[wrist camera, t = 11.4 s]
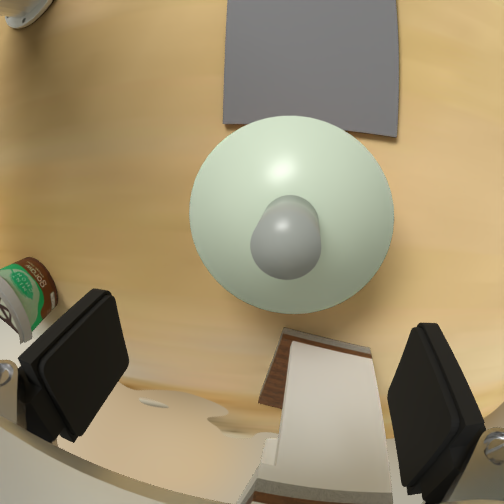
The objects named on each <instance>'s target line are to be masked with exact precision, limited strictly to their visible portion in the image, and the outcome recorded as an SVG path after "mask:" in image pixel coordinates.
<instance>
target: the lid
mask: <svg viewBox="0 0 504 504" xmlns="http://www.w3.org/2000/svg"><path fill="white" fill-rule="evenodd" d="M189 218H190V228H191V233H192V237H193V241H194V244H195V246H196V249H197V252H198V254H199V256H200V258H201V260H202V262H203V263H204V265H205V266H206V268H207V269H208V271H209V272H210V274H211V275H212V276H213V277H214V278H215V279H216V280H217V282H218V283H219V284H221V285H222V286H223V287H224V288H225V289H226V290H227V291H229V292H230V293H231V294H233V295H234V296H236V297H237V298H239V299H240V300H242V301H244V302H246V303H248V304H250V305H253V306H255V307H257V308H260V309H264V310H267V311H271V312H277V313H283V314H303V313H311V312H316V311H321V310H324V309H327V308H330V307H333V306H335V305H337V304H339V303H341V302H343V301H345V300H347V299H348V298H350V297H352V296H353V295H354V294H356V293H357V292H358V291H359V290H361V289H362V288H363V287H364V286H365V285H366V284H367V283H368V282H369V281H370V280H371V279H372V277H373V276H374V275H375V273H376V272H377V271H378V269H379V268H380V266H381V264H382V262H383V260H384V259H385V256H386V254H387V251H388V249H389V246H390V242H391V238H392V234H393V226H394V206H393V200H392V195H391V191H390V188H389V185H388V182H387V179H386V177H385V175H384V173H383V171H382V169H381V167H380V166H379V164H378V163H377V161H376V160H375V158H374V157H373V155H372V154H371V153H370V152H369V151H368V150H367V149H366V148H365V147H364V146H363V144H361V143H360V142H359V141H358V140H357V139H355V138H354V137H353V136H352V135H350V134H349V133H347V132H345V131H344V130H342V129H340V128H339V127H336V126H334V125H332V124H330V123H327V122H325V121H321V120H318V119H314V118H310V117H302V116H277V117H270V118H265V119H262V120H258V121H255V122H252V123H250V124H248V125H246V126H243V127H241V128H239V129H238V130H236V131H235V132H233V133H232V134H230V135H228V136H227V137H226V138H225V139H224V140H223V141H221V142H220V143H219V144H218V145H217V146H216V147H215V148H214V150H213V151H212V152H211V153H210V154H209V155H208V157H207V158H206V160H205V161H204V163H203V164H202V166H201V168H200V170H199V172H198V174H197V177H196V179H195V182H194V185H193V188H192V193H191V199H190V210H189Z"/></svg>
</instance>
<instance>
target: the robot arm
mask: <svg viewBox="0 0 504 504" xmlns="http://www.w3.org/2000/svg"><path fill="white" fill-rule="evenodd" d="M52 1H53V0H0V15H1V16H5V19H6V22H7V24H8V25H9V26H10V27H12V28H18V29H20V28H24V27H26V26H28V25H30V24H31V23H33V22H34V21H35V20H36V19H38V18H39V17H40V16H41V15H42V14H43V13H44V12H45V10H46V9H47V8H48V7H49V5H50V4H51V3H52ZM18 359H19V361H20V364H21V367H19V368H17V366H16V364H15V363H14V362H12V361H9V360H0V504H229V503H224V502H218V501H213V500H208V499H204V498H199V497H195V496H191V495H186V494H182V493H178V492H174V491H171V490H167V489H164V488H160V487H157V486H154V485H151V484H147V483H144V482H141V481H138V480H135V479H132V478H130V477H127V476H124V475H121V474H119V473H116V472H113V471H111V470H108V469H105V468H103V467H101V466H98V465H96V464H93V463H91V462H89V461H87V460H84V459H82V458H80V457H78V456H75V455H73V454H71V453H69V452H67V451H65V450H63V449H61V448H59V447H58V445H57V436H58V435H59V434H60V436H61V437H63V438H65V439H67V440H69V441H71V442H73V443H74V442H75V440H76V439H77V437H78V436H82V435H83V434H84V432H85V431H86V429H87V428H88V426H89V425H90V423H91V422H92V420H93V419H94V417H95V415H96V414H97V412H98V411H99V409H100V408H101V406H102V405H103V403H104V402H105V400H106V399H107V397H108V395H109V394H110V393H111V391H112V390H113V388H114V387H115V385H116V384H117V382H118V381H119V379H120V378H121V376H122V375H123V374H124V372H125V371H126V369H127V367H128V364H129V357H128V353H127V349H126V345H125V341H124V337H123V333H122V328H121V324H120V319H119V315H118V310H117V305H116V300H115V298H114V297H113V296H112V295H111V293H110V292H109V291H106V290H101V289H92V290H90V291H89V292H88V293H87V294H86V295H85V296H84V297H82V298H81V299H80V300H79V301H78V302H77V303H76V304H75V305H73V306H72V307H71V308H70V309H69V310H68V311H67V312H66V313H65V314H64V315H62V316H61V317H60V318H59V319H58V320H57V321H56V322H55V323H54V324H53V325H52V326H51V327H49V328H48V329H47V330H46V331H45V332H44V333H43V334H42V335H41V336H40V337H39V338H38V339H37V340H36V341H35V342H34V343H33V344H32V345H31V346H30V347H28V349H26V351H24V352H23V353H22V354H21V355H20V356H19V357H18ZM387 399H388V405H389V410H390V415H391V420H392V426H393V431H394V437H395V443H396V449H397V455H398V461H399V469H400V476H401V483H402V485H403V486H404V487H407V493H408V495H413V494H420V493H422V498H423V500H424V501H423V502H422V504H504V428H501V427H493V428H490V429H487V430H486V428H485V426H484V420H483V417H482V415H481V412H480V410H479V408H478V405H477V403H476V401H475V398H474V396H473V394H472V392H471V389H470V387H469V385H468V383H467V381H466V379H465V377H464V374H463V372H462V370H461V368H460V366H459V364H458V362H457V360H456V358H455V356H454V354H453V352H452V350H451V348H450V346H449V344H448V342H447V340H446V339H445V337H444V335H443V333H442V331H441V329H440V327H439V325H438V324H436V323H419V324H418V325H417V327H414V328H412V330H411V332H410V335H409V338H408V341H407V344H406V347H405V349H404V352H403V355H402V357H401V360H400V363H399V365H398V368H397V370H396V373H395V376H394V378H393V380H392V383H391V385H390V388H389V390H388V396H387Z"/></svg>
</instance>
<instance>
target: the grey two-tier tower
mask: <svg viewBox="0 0 504 504" xmlns="http://www.w3.org/2000/svg"><path fill="white" fill-rule="evenodd" d="M258 403H260V404H264V405H268V406H272V407H277V408H281V409H282V415H281V422H280V428H279V435H278V438H267V439H265V443H264V448H263V454H262V458H261V463H260V464H259V466H258V468H257V469H256V471H255V473H254V474H253V476H252V478H251V480H250V481H249V483H248V485H247V486H246V488H245V490H244V491H243V493H242V494H241V496H240V498H239V499H238V501H237V502H236V504H393V497H392V486H391V476H390V467H389V458H388V450H387V443H386V436H385V429H384V422H383V416H382V410H381V404H380V398H379V392H378V387H377V381H376V376H375V371H374V366H373V361H372V356H371V351H370V348H367V347H363V346H358V345H354V344H350V343H345V342H341V341H337V340H332V339H328V338H324V337H320V336H316V335H312V334H308V333H304V332H300V331H296V330H292V329H288V328H285V327H284V328H283V331H282V334H281V337H280V340H279V343H278V346H277V348H276V351H275V354H274V357H273V359H272V362H271V365H270V368H269V370H268V373H267V376H266V379H265V381H264V384H263V387H262V389H261V392H260V396H259V401H258Z"/></svg>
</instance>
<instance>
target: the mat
mask: <svg viewBox="0 0 504 504" xmlns="http://www.w3.org/2000/svg"><path fill="white" fill-rule="evenodd" d="M398 100H399V47H398V25H397V10H396V0H228V3H227V22H226V43H225V68H224V99H223V124H250V123H252V122H255V121H258V120H262V119H265V118H270V117H277V116H302V117H310V118H314V119H318V120H321V121H325V122H327V123H330V124H332V125H334V126H336V127H339V128H340V129H342V130H345V131H354V132H362V133H370V134H377V135H384V136H391V137H397V124H398Z"/></svg>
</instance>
